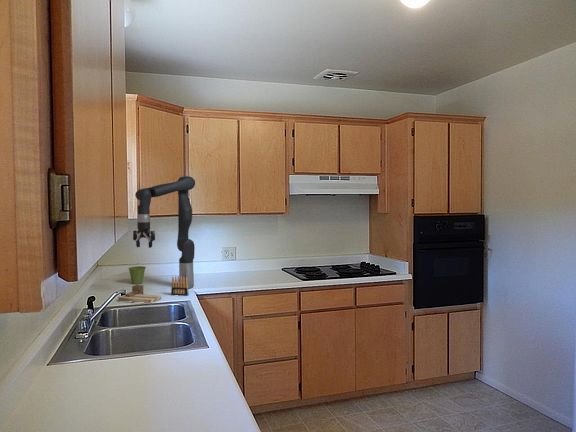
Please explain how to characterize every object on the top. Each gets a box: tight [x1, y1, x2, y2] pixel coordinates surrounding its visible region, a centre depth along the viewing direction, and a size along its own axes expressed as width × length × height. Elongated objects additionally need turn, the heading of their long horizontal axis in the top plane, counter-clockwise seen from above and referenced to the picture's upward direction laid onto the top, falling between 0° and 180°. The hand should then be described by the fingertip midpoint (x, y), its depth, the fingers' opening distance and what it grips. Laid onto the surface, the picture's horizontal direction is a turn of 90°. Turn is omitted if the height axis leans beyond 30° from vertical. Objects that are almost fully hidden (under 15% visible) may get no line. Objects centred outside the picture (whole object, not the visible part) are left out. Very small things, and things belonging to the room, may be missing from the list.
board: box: [117, 293, 162, 304], centre depth 235 cm, size 10×22×2 cm, turn 74°
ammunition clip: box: [170, 275, 189, 297], centre depth 248 cm, size 11×2×12 cm, turn 82°
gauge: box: [124, 284, 144, 296], centre depth 240 cm, size 12×5×8 cm, turn 165°
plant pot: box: [128, 265, 147, 285], centre depth 283 cm, size 12×12×11 cm
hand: (144, 247), depth 247 cm, fingers open, 8 cm apart
